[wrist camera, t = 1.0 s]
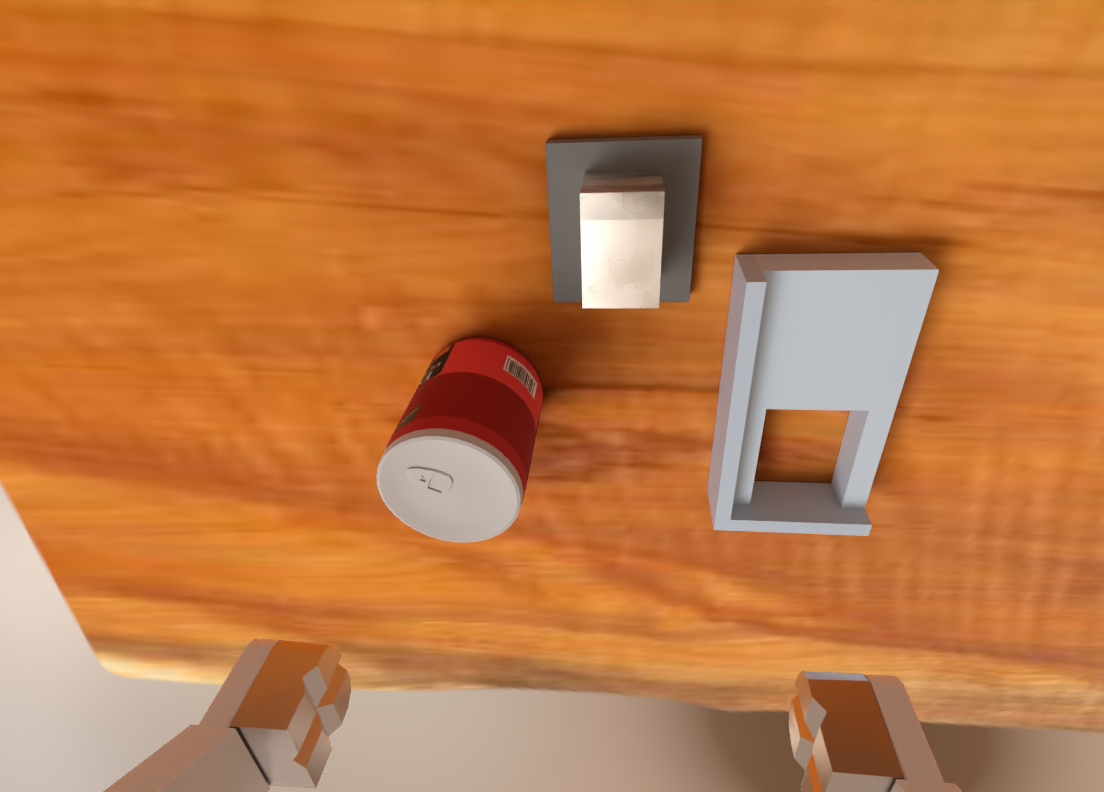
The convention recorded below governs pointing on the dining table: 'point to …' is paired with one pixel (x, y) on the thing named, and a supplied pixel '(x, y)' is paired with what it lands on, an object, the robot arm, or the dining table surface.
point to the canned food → (464, 443)
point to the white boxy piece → (621, 238)
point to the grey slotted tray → (813, 378)
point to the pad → (615, 155)
